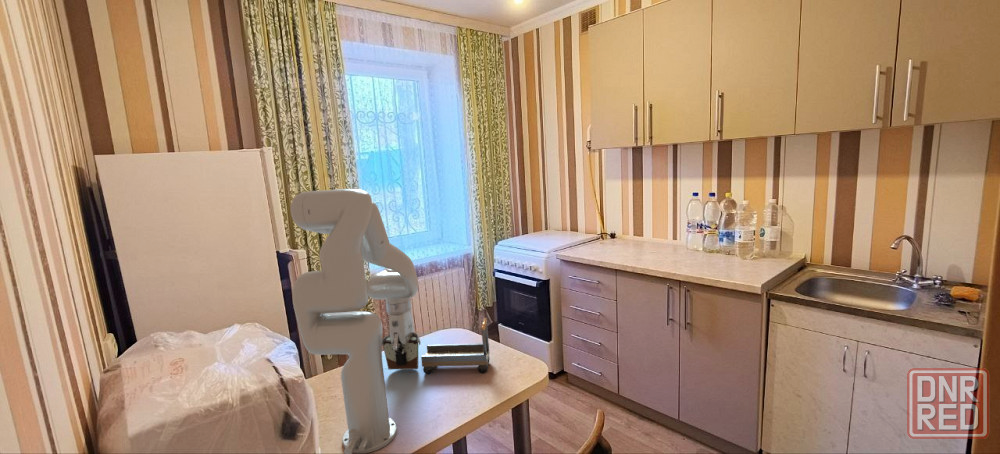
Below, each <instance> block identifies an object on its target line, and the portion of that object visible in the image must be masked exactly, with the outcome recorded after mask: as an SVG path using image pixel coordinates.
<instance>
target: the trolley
mask: <svg viewBox="0 0 1000 454" xmlns="http://www.w3.org/2000/svg"><path fill="white" fill-rule="evenodd" d="M480 330H481V338H482V339H481V340H482V343H449V344H445V343H444V344H443V343H441V344H440V343H439V344H427V345H426V350H427V351H426V353H425V355H423V354H422V355H421V356H420V358H421V367H423V368H422V370H423V373H424V374H426V375H431V374H432V373H433V372H434V368H435V367H461V366H462V367H463V366H465V367H467V366H477V370H478V372H479V373H480V374H485V373H487V372H488V369H489V365H488V364H489V363H490V359H491V358H490V352H491V351H490V342H489V331H488V330H489V328H488V318H486V317H484V318H483V320H482V323H481V327H480Z"/></svg>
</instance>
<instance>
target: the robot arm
mask: <svg viewBox="0 0 1000 454" xmlns="http://www.w3.org/2000/svg"><path fill="white" fill-rule="evenodd" d="M289 211H290V215H291V218H292V220H293V222H294V223H295V225H297V226H298V227H299V228H300V229H302V230H305V231H308V232H313V233H317V234H323V235H327V237H326V238H325V240H324V242H323V243H322V245H321V247H320V250H319V261H320V265H321V270H312V271H307V272H303V273H302V274H301V275H299V276H298V277H297V278H296V280H295V282H294V284H293V288H292V293H291V294H292V297H291V298H292V305H293V309H294V313H295V317H296V321H297V325H298V328H299V332H300V335H301V340H302V342H303V344H304V347H305V349H306V351H307V352H309V353H310V354H312V355H317V356H323V355H324V356H325V355H347V356H348V357H349V358H348V359H347V360H346V362H345V363H344V364H343V366H342V368H341V372H340V381H341V386H342V395H343V401H344V409H345V416H346V423H347V429H346V430H345V432H344V434H343V436H342V445H343V447H344V451H343V454H367V453H368V454H369V453H372V452H376V451H378V450H381V449H382V448H383V447H385V446H388V445H389V444H390V443H391V442H392V441H393V440H394V438H395V436H396V435H397V432H398V430H397V429H398V428H397V427H398V426H397V424H396V422H395V420H394V419H393V418H391V417H390V416H389V415H390V414H389V407H388V399H387V391H386V384H385V383H386V382H385V375H384V373H385V372H384V365H383V364H384V363H383V354H382V353H383V351H382V349H383V345H382V339H383V331H384V330H383V329H384V327H383V322H382V319H381V317H380V316H379V315H378V314H376V313H374V312H371V311H364V310H363V311H362V309H364V308H365V307H366V305H367V304H368V301H369V298H371V299H373V300H378V301H379V300H385V308H386V313H387V315H388V324H389V335H390V338H391V344H392V345H393V350H394V351H395V356H396V365H397V366H400V365H407V358H406V352H405V345H407V344H408V342H409V340H410V339H411V337H412V336H413V332H414V333H415V326H414V320H413V313H412V309H413V308H412V300H411V298H413V297H415V296H416V294H417V293H418V292H419V291H418V290H419V279H418V275H417V271H416V268H415V265H414V263H413V261H412V259H411V258H410V256H409V255H407V254H406V253H405V252H404V251H402V250H401V249H400V248H398V247H397V246H395V245H393V244H392V243H391V242H390V240H389V237H388V234H387V231H386V228H385V225H384V221H383V219H382V216H381V213H380V210H379V207H378V205H377V204H376V203H375V202H374V201H373V199H372V196H371V195H370V194H369V193H368V191H365V190H363V189H355V188H338V189H329V190H328V189H325V190H309V191H303V192H302V191H301V192H300V193H298V194H296V195H295V196H294V198H293V199H292V201H291V204H290V210H289ZM364 262H367V263H368V264H372V265H375V266H378V267H382V268H384V269H383V271H380V272H377V273H374V274H373V275H371V276H370V278H369V279H368V280H367V276H366V270H365V265H364ZM399 342H401V343H399ZM399 346H402V349H401V348H399Z"/></svg>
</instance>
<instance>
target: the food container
mask: <svg viewBox="0 0 1000 454" xmlns="http://www.w3.org/2000/svg"><path fill="white" fill-rule="evenodd" d="M399 343H401V342H399ZM421 343H422V342H421V339H420V337H419V335H418V334H417V332H415V331H414V332H413V336H412V337H411V339H410V340H409V342H408V344H407V345H405V352H406V358H407V365H400V366H397V365H396V356H395V351H394V350H393V345H392V344H391V338H390V334H388V335H386V336H384V337H382V349H383V351H384V356H385V360H386V361H385V362H386V364H387V369H388V370H418V369H419V346H420V345H421ZM399 348H401V349H402V346H399Z"/></svg>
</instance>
